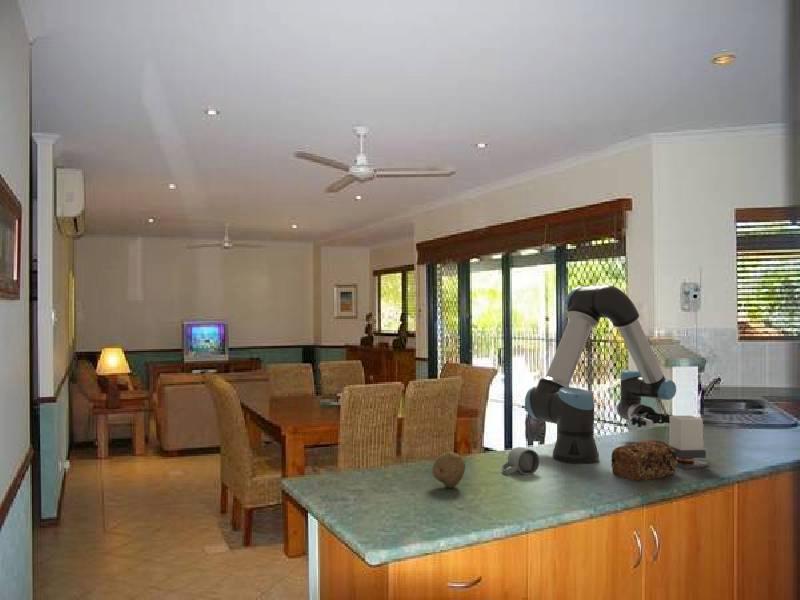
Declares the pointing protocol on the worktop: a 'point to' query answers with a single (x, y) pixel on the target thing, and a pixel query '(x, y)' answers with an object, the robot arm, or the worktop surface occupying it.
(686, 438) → the sleeve
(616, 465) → the bread
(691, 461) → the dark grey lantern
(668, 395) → the robot arm
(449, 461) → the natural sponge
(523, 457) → the ceramic mug
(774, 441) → the worktop surface
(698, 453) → the dark grey square slab
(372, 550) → the worktop surface
